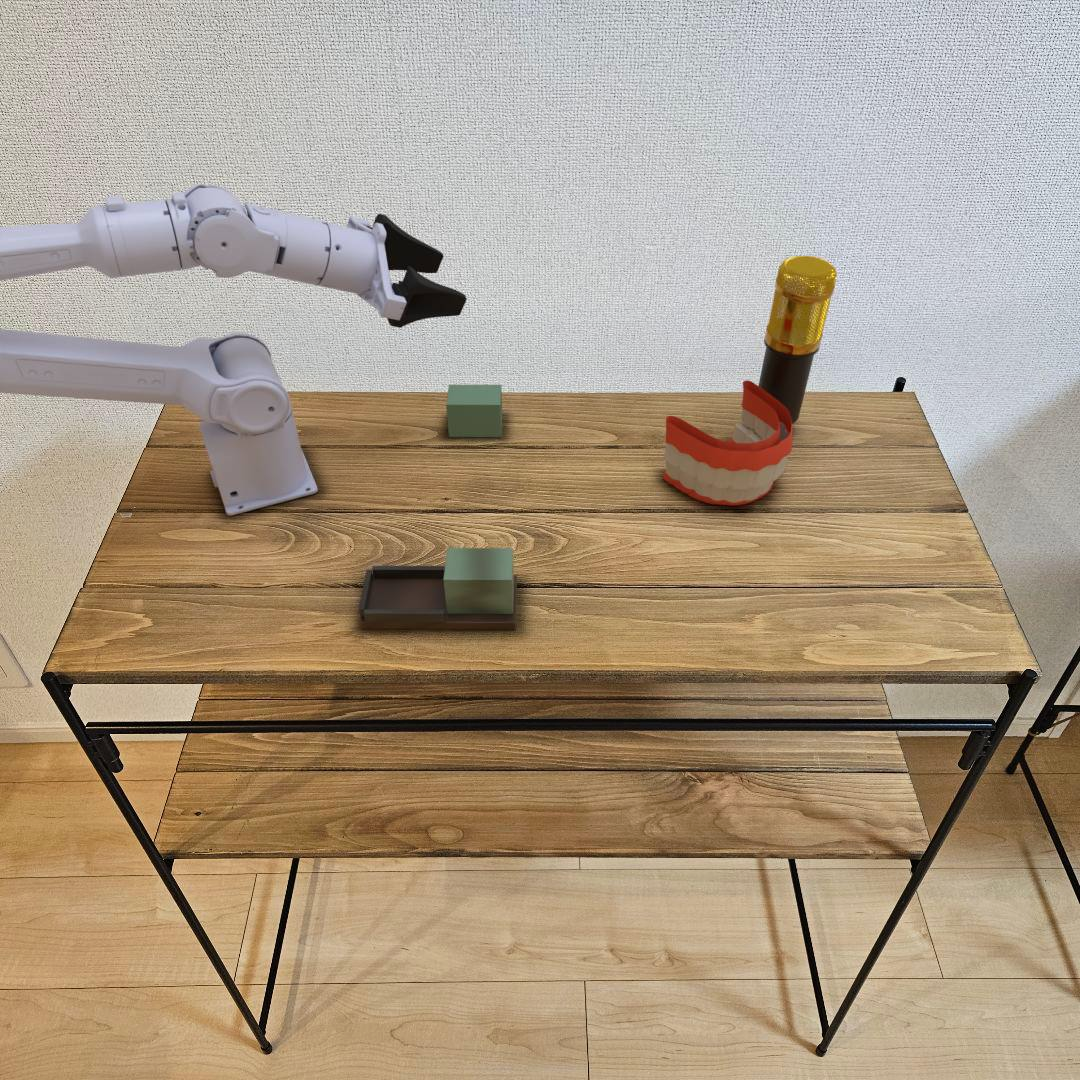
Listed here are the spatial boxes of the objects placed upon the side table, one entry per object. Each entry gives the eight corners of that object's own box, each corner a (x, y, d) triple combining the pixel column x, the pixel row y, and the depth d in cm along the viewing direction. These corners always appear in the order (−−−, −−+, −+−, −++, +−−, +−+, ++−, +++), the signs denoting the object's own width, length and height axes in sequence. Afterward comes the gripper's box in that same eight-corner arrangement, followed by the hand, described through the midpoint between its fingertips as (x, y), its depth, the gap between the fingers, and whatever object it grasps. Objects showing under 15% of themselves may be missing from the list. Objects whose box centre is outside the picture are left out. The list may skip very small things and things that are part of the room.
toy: (723, 532, 90) (735, 470, 84) (655, 479, 96) (662, 418, 90) (807, 485, 95) (823, 424, 90) (737, 438, 101) (749, 378, 96)
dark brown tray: (361, 629, 80) (352, 587, 76) (370, 581, 85) (362, 540, 81) (515, 629, 80) (514, 587, 76) (517, 582, 85) (516, 540, 81)
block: (448, 437, 101) (446, 404, 98) (451, 416, 104) (448, 384, 101) (501, 437, 101) (500, 404, 98) (502, 417, 104) (501, 384, 101)
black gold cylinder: (867, 438, 101) (919, 275, 88) (754, 443, 101) (788, 280, 87) (850, 409, 106) (897, 249, 92) (742, 414, 105) (772, 253, 91)
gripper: (351, 258, 75) (489, 290, 83) (315, 175, 84) (443, 210, 91) (327, 327, 79) (460, 351, 87) (295, 241, 88) (419, 270, 95)
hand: (450, 283), depth 89 cm, fingers open, 7 cm apart
